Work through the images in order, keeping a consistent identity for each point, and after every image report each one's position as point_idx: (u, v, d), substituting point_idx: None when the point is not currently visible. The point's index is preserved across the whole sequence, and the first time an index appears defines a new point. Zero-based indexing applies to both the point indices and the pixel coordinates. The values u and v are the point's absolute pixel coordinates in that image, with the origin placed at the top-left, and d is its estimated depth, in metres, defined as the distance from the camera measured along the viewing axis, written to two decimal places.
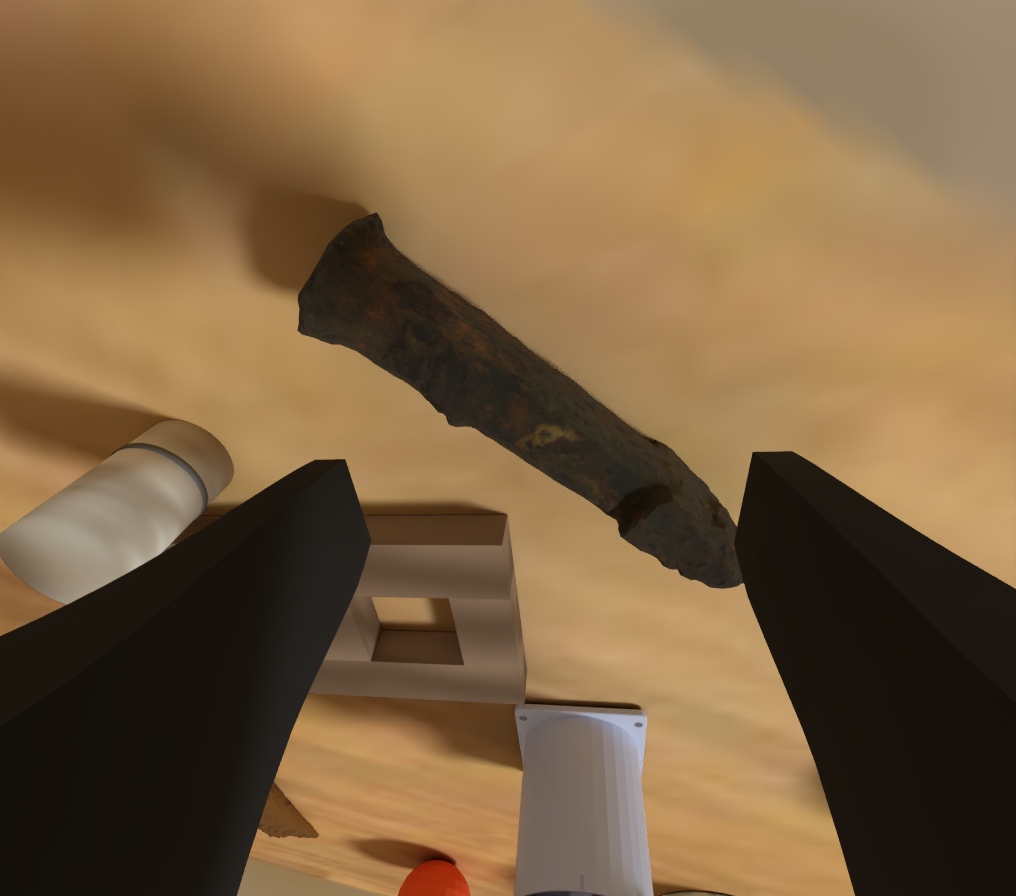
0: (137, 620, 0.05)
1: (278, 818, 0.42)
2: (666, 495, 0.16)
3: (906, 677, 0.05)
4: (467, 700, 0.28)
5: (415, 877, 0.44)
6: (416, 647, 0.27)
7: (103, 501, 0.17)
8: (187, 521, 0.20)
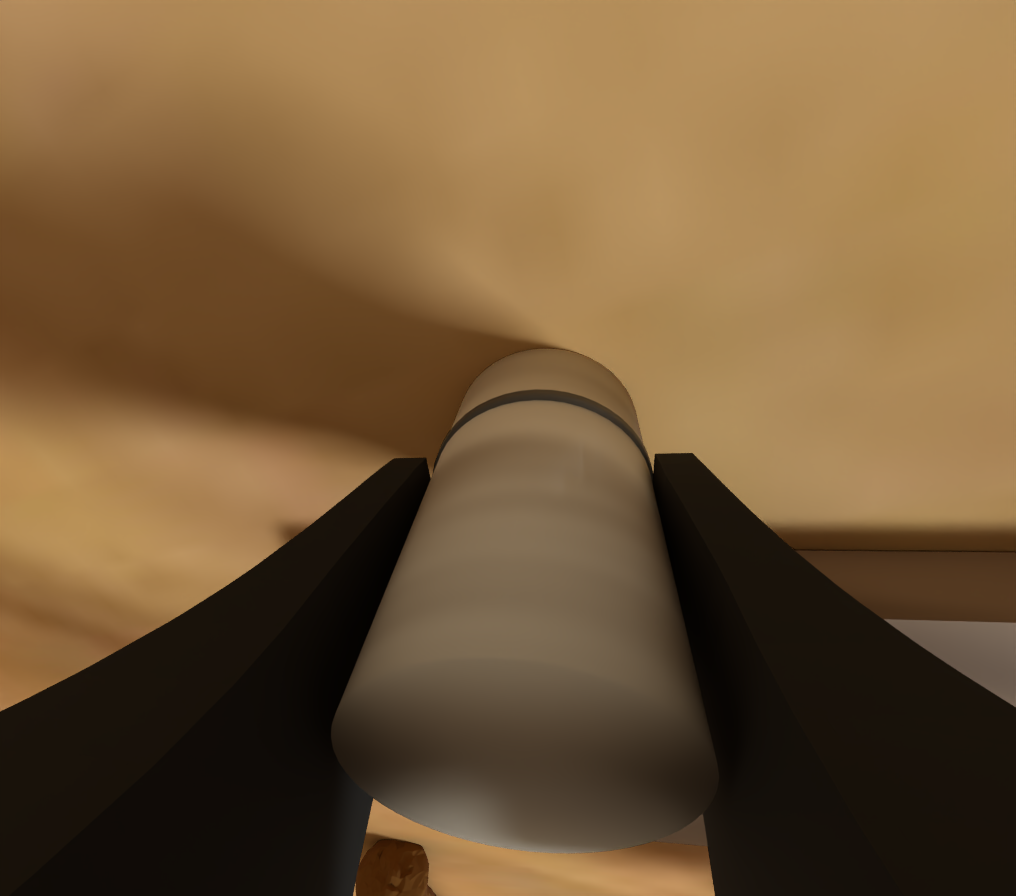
0: (272, 625, 0.05)
1: None
2: None
3: (734, 670, 0.05)
4: None
5: None
6: None
7: (623, 546, 0.06)
8: None
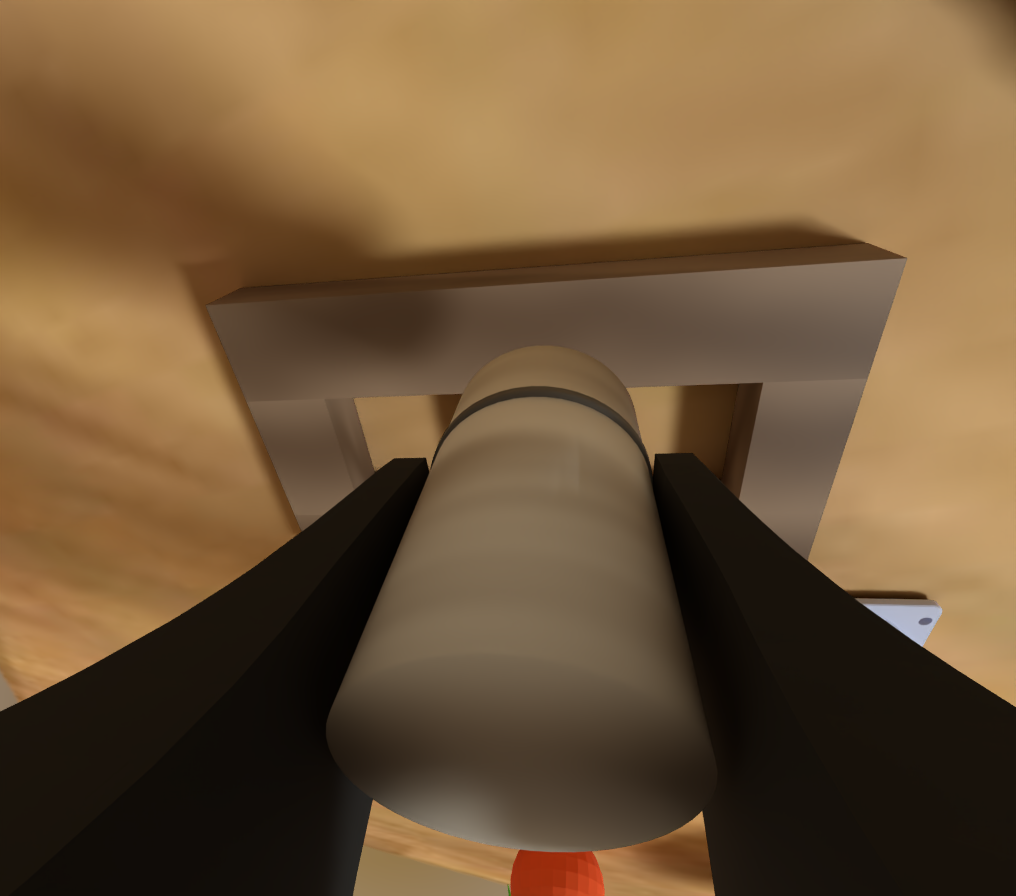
0: (272, 625, 0.05)
1: None
2: None
3: (735, 670, 0.05)
4: None
5: None
6: None
7: (618, 541, 0.06)
8: None
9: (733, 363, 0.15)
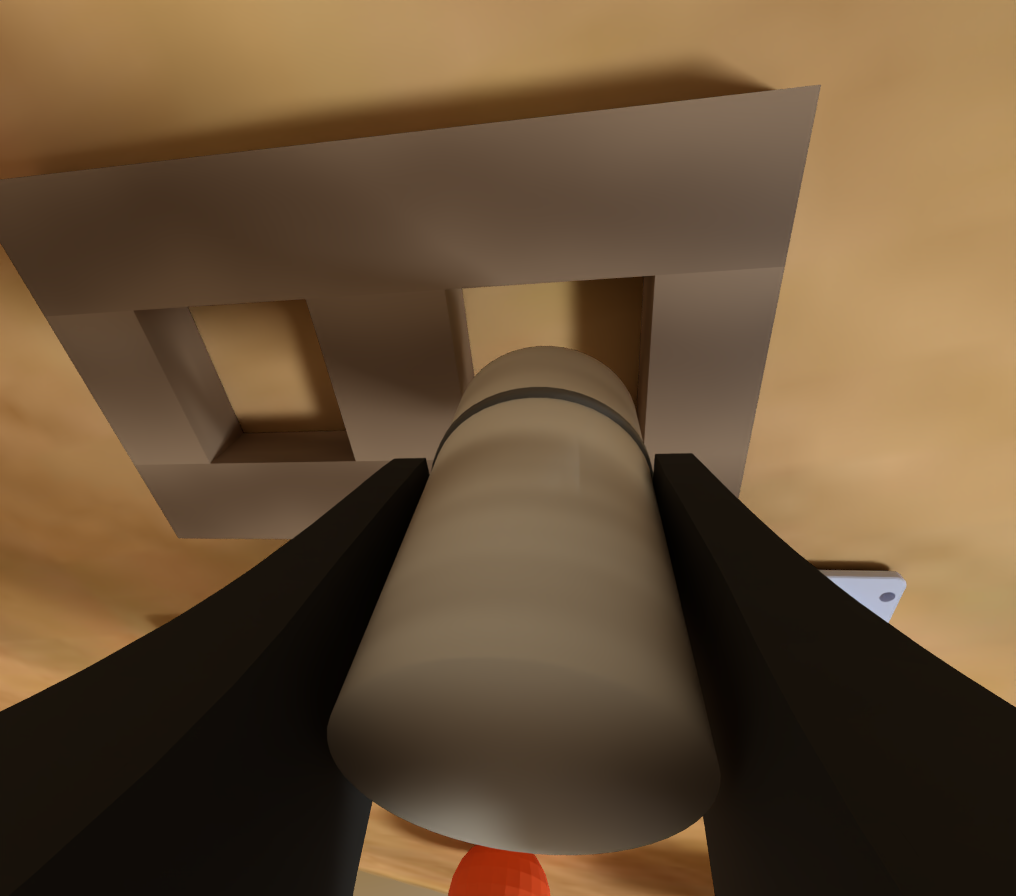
0: (272, 625, 0.05)
1: None
2: None
3: (734, 670, 0.05)
4: None
5: (474, 858, 0.33)
6: None
7: (619, 542, 0.05)
8: None
9: (615, 249, 0.11)
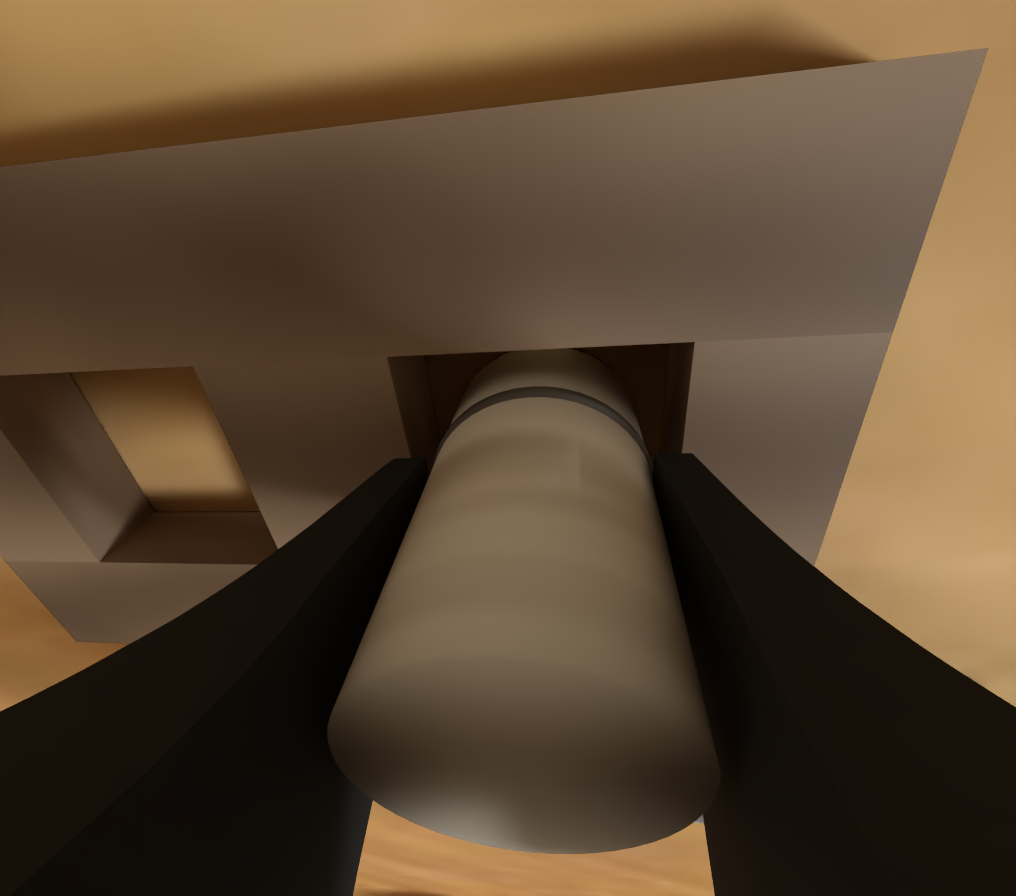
0: (272, 625, 0.05)
1: None
2: None
3: (734, 670, 0.05)
4: None
5: None
6: None
7: (620, 541, 0.05)
8: None
9: (635, 304, 0.08)
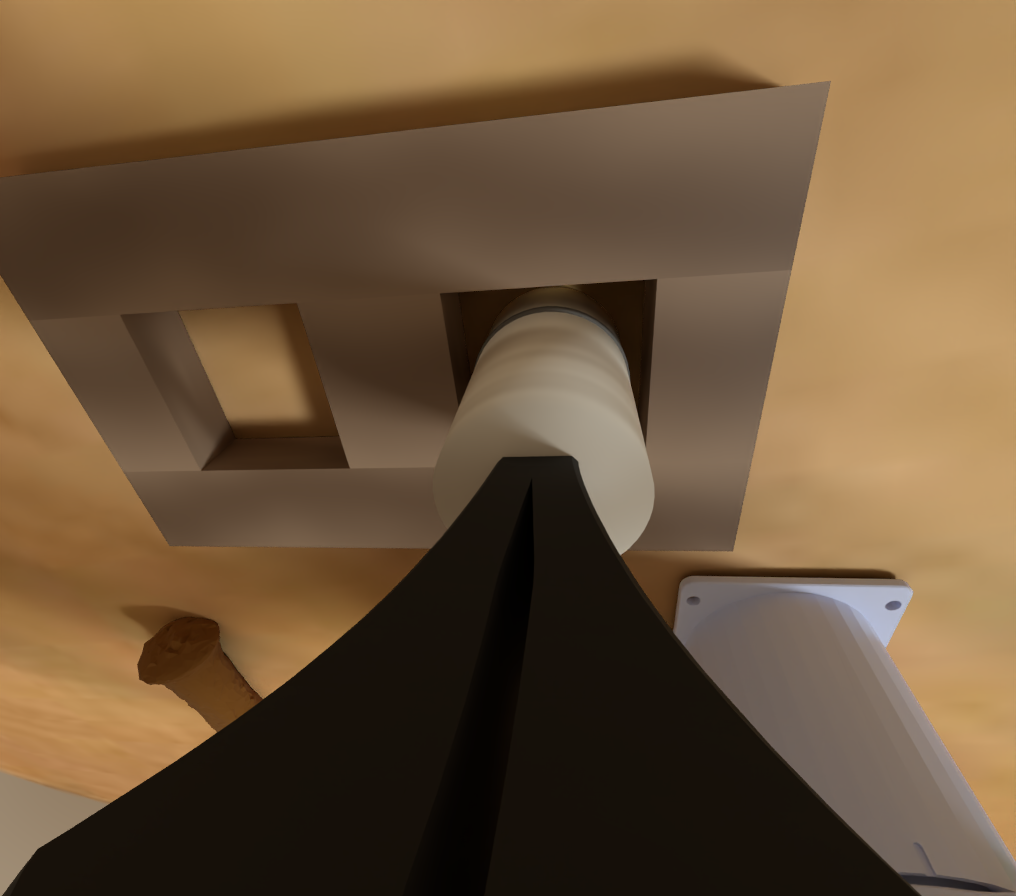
0: (464, 630, 0.05)
1: None
2: None
3: None
4: None
5: None
6: None
7: (601, 374, 0.09)
8: None
9: (615, 251, 0.11)
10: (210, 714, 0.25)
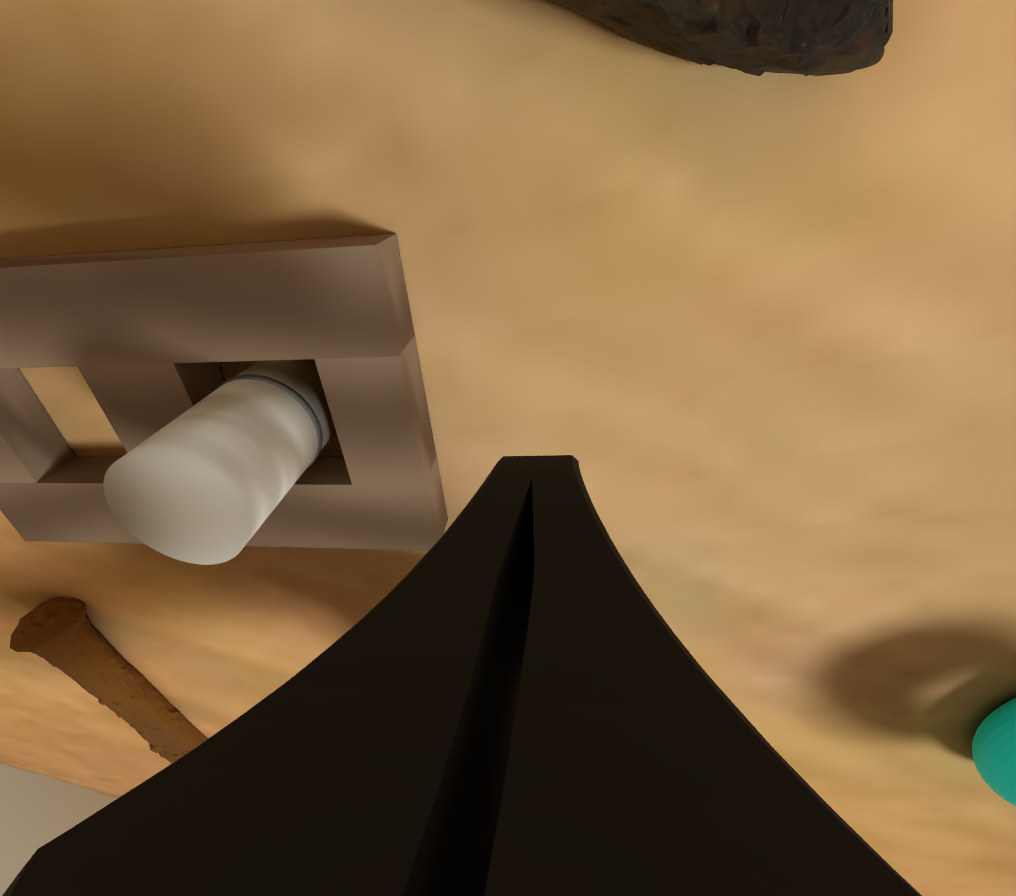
0: (464, 631, 0.05)
1: (160, 728, 0.34)
2: None
3: None
4: (364, 548, 0.21)
5: None
6: None
7: (227, 432, 0.14)
8: (304, 468, 0.17)
9: (281, 340, 0.16)
10: (81, 680, 0.29)
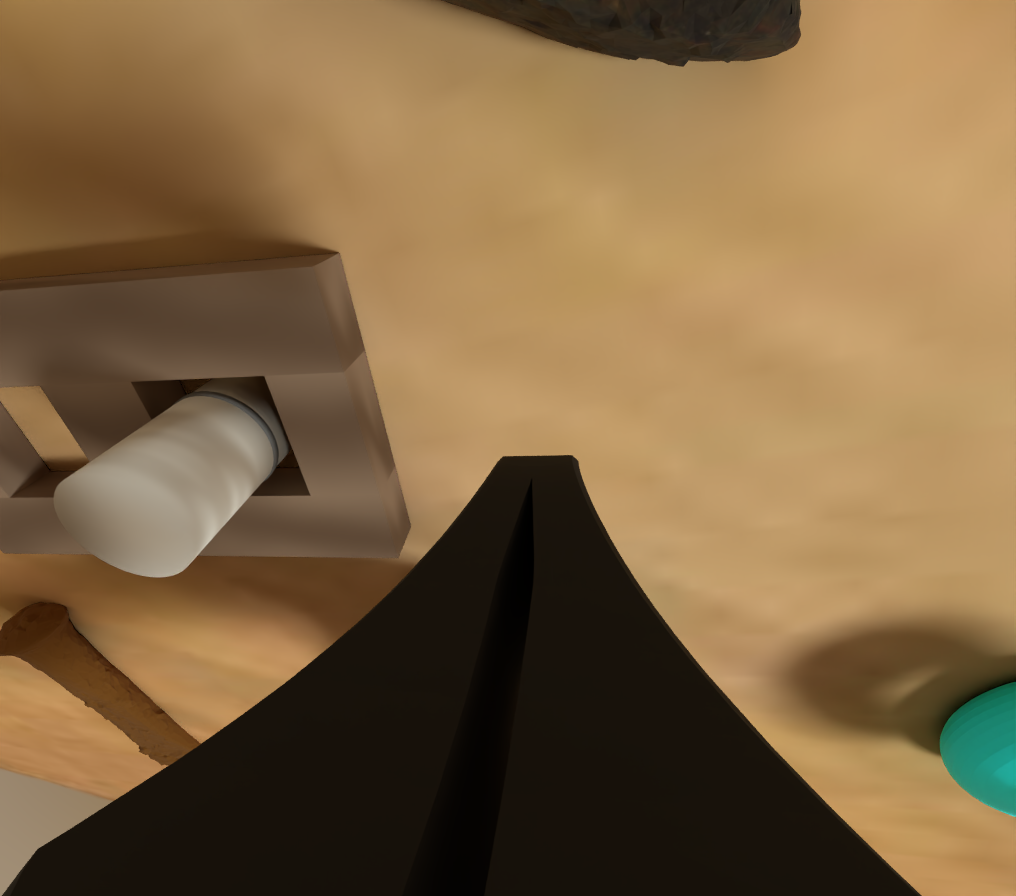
0: (464, 630, 0.05)
1: (147, 730, 0.34)
2: None
3: None
4: (327, 556, 0.21)
5: None
6: None
7: (174, 449, 0.15)
8: (259, 481, 0.18)
9: (231, 358, 0.17)
10: (66, 683, 0.30)
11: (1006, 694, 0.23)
